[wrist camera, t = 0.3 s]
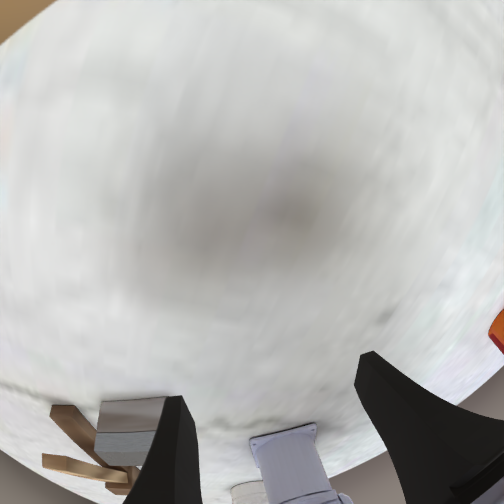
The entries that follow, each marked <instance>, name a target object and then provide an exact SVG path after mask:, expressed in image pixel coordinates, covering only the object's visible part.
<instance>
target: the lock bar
mask: <svg viewBox="0 0 504 504" xmlns="http://www.w3.org/2000/svg"><path fill="white" fill-rule="evenodd" d="M155 432H156V431H150V432H132V433H96V439H95V447H94V452H95V453H96V454H97V455H98V456H99V457H100V458H102V459H103V460H104V461H105V462H106V463H107V464H108V465H110V466H143V464H144V462H145V459H146V457H147V454H148V452H149V449H150V447H151V444H152V441H153V438H154V435H155Z"/></svg>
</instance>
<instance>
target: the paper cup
mask: <svg viewBox="0 0 504 504" xmlns="http://www.w3.org/2000/svg"><path fill="white" fill-rule="evenodd" d="M488 335H489V337H490V339H491V340H492V341H493V342H494V344H495V345H496V346H497V347H498V348H499V350H500V351H501V352H502V353H503V354H504V309H503V310H502V311H501V312H500V313H499V315H498V316H497V317H496V319H495V320H494V322H493V323H492V325H491V327H490V330H489V333H488Z"/></svg>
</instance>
